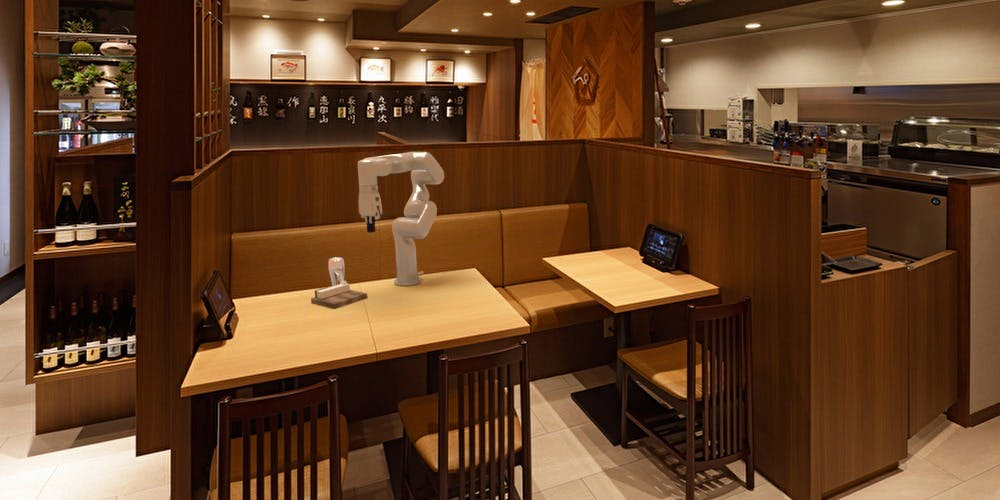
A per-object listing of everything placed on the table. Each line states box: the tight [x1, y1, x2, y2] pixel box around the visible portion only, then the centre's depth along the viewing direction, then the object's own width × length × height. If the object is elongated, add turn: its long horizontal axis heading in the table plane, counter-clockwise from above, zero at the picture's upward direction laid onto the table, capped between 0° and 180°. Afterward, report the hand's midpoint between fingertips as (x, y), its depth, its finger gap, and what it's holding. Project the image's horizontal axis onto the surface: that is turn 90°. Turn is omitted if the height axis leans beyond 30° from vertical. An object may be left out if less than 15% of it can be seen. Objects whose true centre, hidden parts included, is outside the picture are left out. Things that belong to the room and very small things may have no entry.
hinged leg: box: [317, 280, 351, 299], centre depth 246 cm, size 15×3×4 cm, turn 143°
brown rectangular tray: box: [310, 285, 368, 310], centre depth 244 cm, size 18×15×5 cm
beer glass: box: [328, 256, 346, 287], centre depth 258 cm, size 7×7×15 cm
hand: (371, 231), depth 243 cm, fingers closed
